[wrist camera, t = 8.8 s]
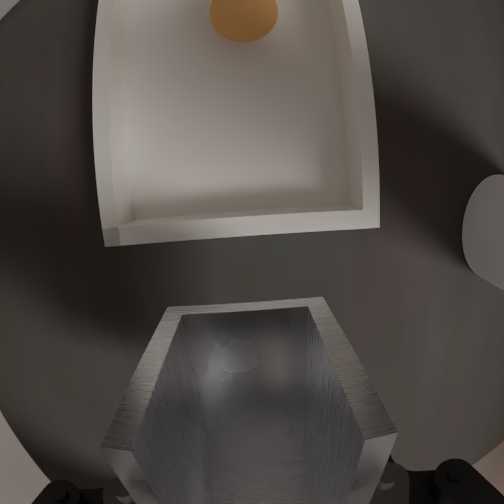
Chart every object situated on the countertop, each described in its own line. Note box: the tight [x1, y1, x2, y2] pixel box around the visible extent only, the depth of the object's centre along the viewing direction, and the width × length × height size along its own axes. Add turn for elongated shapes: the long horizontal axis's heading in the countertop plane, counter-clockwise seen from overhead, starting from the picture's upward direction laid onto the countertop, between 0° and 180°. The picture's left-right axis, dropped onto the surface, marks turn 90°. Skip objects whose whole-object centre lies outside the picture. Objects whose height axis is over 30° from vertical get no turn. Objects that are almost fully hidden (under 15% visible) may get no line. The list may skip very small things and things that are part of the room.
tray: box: [92, 0, 380, 247], centre depth 12 cm, size 15×12×3 cm
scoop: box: [100, 297, 398, 504], centre depth 8 cm, size 8×5×6 cm, turn 4°
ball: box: [209, 0, 278, 42], centre depth 11 cm, size 3×3×3 cm
